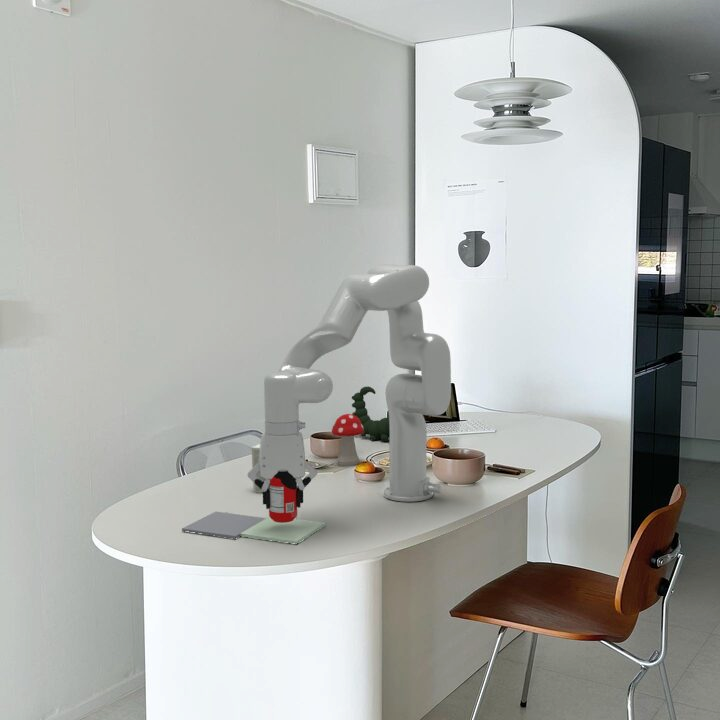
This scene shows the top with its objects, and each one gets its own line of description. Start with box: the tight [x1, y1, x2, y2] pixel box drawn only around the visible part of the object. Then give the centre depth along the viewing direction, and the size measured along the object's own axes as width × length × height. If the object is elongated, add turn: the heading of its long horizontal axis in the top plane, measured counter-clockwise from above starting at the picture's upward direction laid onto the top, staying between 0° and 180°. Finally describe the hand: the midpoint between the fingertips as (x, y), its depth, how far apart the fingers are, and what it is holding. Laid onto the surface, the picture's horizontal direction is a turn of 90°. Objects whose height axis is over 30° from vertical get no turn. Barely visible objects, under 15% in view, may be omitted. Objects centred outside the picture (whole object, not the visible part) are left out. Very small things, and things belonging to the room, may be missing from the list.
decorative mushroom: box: [331, 413, 364, 467], centre depth 258 cm, size 10×9×15 cm
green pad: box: [240, 516, 326, 544], centre depth 197 cm, size 14×14×1 cm
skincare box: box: [251, 443, 269, 494], centre depth 230 cm, size 6×4×12 cm
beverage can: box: [268, 470, 298, 523], centre depth 196 cm, size 6×6×12 cm
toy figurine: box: [351, 386, 390, 442], centre depth 289 cm, size 9×19×25 cm
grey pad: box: [181, 511, 267, 540], centre depth 201 cm, size 14×14×1 cm
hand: (283, 505), depth 196 cm, fingers closed on beverage can, 6 cm apart
